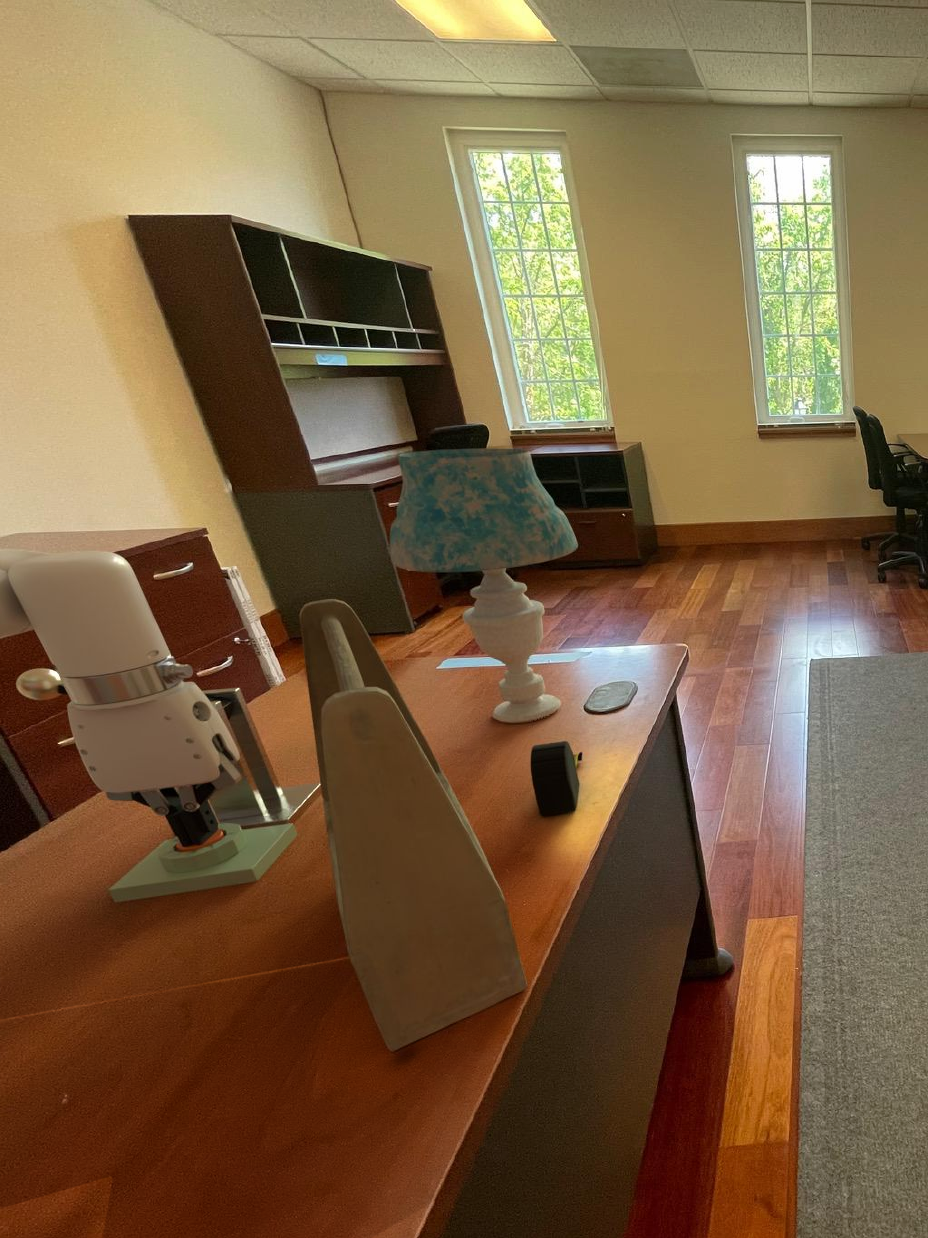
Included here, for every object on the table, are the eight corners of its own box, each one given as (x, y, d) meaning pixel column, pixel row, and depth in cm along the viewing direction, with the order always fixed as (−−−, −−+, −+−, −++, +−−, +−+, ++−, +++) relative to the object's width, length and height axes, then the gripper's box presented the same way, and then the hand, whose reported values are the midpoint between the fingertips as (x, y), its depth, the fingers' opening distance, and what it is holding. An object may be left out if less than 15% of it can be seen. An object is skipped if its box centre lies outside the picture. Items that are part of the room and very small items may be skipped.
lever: (6, 701, 74) (6, 671, 74) (32, 689, 77) (32, 660, 77) (216, 733, 81) (218, 707, 80) (233, 721, 84) (235, 695, 83)
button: (175, 864, 75) (168, 851, 74) (195, 845, 78) (189, 832, 78) (216, 858, 76) (210, 845, 75) (235, 840, 79) (229, 826, 79)
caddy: (533, 989, 63) (444, 672, 51) (386, 1057, 56) (244, 713, 44) (464, 841, 83) (388, 590, 71) (350, 879, 76) (245, 609, 64)
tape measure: (576, 814, 88) (564, 757, 85) (537, 820, 87) (523, 763, 84) (583, 760, 101) (573, 709, 97) (549, 765, 99) (537, 714, 96)
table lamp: (456, 695, 121) (386, 448, 105) (607, 676, 130) (563, 444, 114) (426, 757, 101) (335, 463, 85) (607, 729, 110) (555, 457, 94)
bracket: (176, 843, 82) (115, 719, 76) (221, 803, 90) (169, 688, 83) (291, 827, 85) (241, 707, 79) (324, 790, 93) (282, 678, 86)
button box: (114, 903, 72) (99, 875, 71) (171, 852, 80) (157, 826, 79) (257, 881, 76) (245, 854, 74) (298, 835, 84) (287, 809, 82)
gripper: (239, 660, 75) (300, 809, 82) (56, 675, 70) (137, 831, 78) (196, 686, 68) (267, 846, 75) (-9, 705, 64) (87, 872, 71)
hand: (201, 838), depth 77 cm, fingers closed
